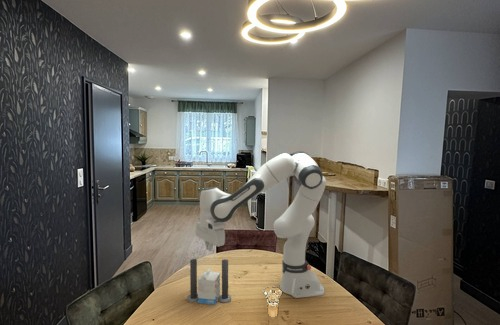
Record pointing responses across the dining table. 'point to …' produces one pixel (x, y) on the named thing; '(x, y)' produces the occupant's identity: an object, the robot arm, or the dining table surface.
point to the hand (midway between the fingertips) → (209, 250)
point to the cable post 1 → (193, 282)
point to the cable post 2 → (225, 283)
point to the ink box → (209, 287)
